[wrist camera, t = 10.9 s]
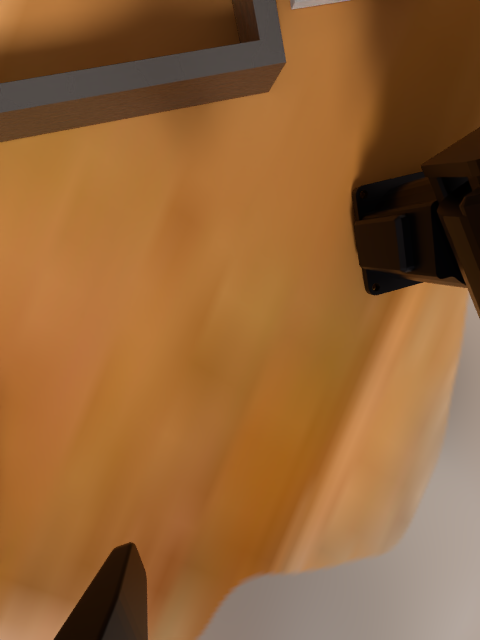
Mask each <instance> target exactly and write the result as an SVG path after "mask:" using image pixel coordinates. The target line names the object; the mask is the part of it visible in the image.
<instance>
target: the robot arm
mask: <svg viewBox="0 0 480 640" xmlns="http://www.w3.org/2000/svg"><path fill="white" fill-rule="evenodd" d="M421 168H422V170H423V172H419V173H414V174H410V175H406V176H401V177H397V178H393V179H388V180H384V181H380V182H375V183H371V184H367V185H363V186H360V187H357V188H356V189H355V190H354V191H353V194H352V199H353V206H354V213H355V220H356V223H355V225H354V230H355V237H356V244H357V251H358V258H359V265H360V266H361V267H362V270H363V277H364V284H365V289H366V292H367V293H368V294H371V295H379V294H383V293H386V292H390V291H394V290H397V289H401V288H405V287H408V286H412V285H415V284H419V283H423V282H427V283H434V284H442V285H449V286H456V287H463V288H468V291H469V293H470V296H471V298H472V300H473V303H474V306H475V308H476V310H477V313H478V316H479V318H480V127H479V128H478V129H476V130H475V131H473V132H471V133H470V134H468V135H467V136H465V137H464V138H462V139H461V140H459V141H457V142H456V143H454V144H453V145H451V146H450V147H448V148H447V149H445V150H443V151H442V152H440V153H439V154H437V155H436V156H434V157H433V158H431V159H430V160H428V161H426V162H425V163H423V164H422V165H421ZM361 191H362V192H363V193H364V198H363V199H361V198H360V192H361ZM373 284H376V288H375V290H373V289H372V286H373ZM54 640H148V628H147V579H146V572H145V569H144V566H143V563H142V561H141V558H140V556H139V553H138V550H137V548H136V545H135V544H134V543H132V542H129V543H127V544H124V545H121V546H118V547H116V548H114V549H113V551H112V552H111V553H110V555H109V556H108V558H107V559H106V561H105V562H104V564H103V565H102V567H101V569H100V570H99V572H98V573H97V575H96V576H95V578H94V579H93V581H92V582H91V584H90V585H89V587H88V588H87V590H86V591H85V593H84V594H83V596H82V597H81V599H80V600H79V602H78V603H77V605H76V606H75V608H74V609H73V611H72V612H71V614H70V615H69V617H68V618H67V620H66V622H65V623H64V625H63V626H62V628H61V629H60V631H59V632H58V634H57V635H56V637H55V638H54Z"/></svg>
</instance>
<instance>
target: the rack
mask: <svg viewBox="0 0 480 640" xmlns="http://www.w3.org/2000/svg"><path fill="white" fill-rule="evenodd" d="M232 3H233V8H234V14H235V19H236V24H237V29H238V34H239V39H240V44H234V45H228V46H222V47H216V48H210V49H204V50H198V51H192V52H186V53H180V54H174V55H168V56H162V57H156V58H150V59H144V60H138V61H132V62H126V63H120V64H114V65H108V66H102V67H96V68H90V69H84V70H78V71H72V72H66V73H60V74H54V75H48V76H42V77H36V78H30V79H24V80H18V81H12V82H6V83H0V142H3V141H9V140H14V139H19V138H25V137H30V136H35V135H41V134H46V133H51V132H57V131H62V130H67V129H73V128H78V127H83V126H89V125H94V124H100V123H105V122H110V121H116V120H121V119H126V118H132V117H137V116H142V115H148V114H153V113H158V112H164V111H169V110H174V109H180V108H185V107H190V106H196V105H201V104H206V103H212V102H217V101H222V100H228V99H233V98H238V97H244V96H249V95H254V94H260V93H265V92H269V90H270V89H271V87H272V85H273V83H274V82H275V80H276V78H277V77H278V75H279V73H280V72H281V70H282V68H283V67H284V65H285V63H286V59H285V53H284V47H283V41H282V35H281V29H280V24H279V18H278V12H277V6H276V0H232Z"/></svg>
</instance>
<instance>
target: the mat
mask: <svg viewBox="0 0 480 640" xmlns="http://www.w3.org/2000/svg"><path fill="white" fill-rule="evenodd" d="M342 1H349V0H290V3H291V9H298V8H304V7H310V6H317V5H323V4H329V3H336V2H342Z"/></svg>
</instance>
